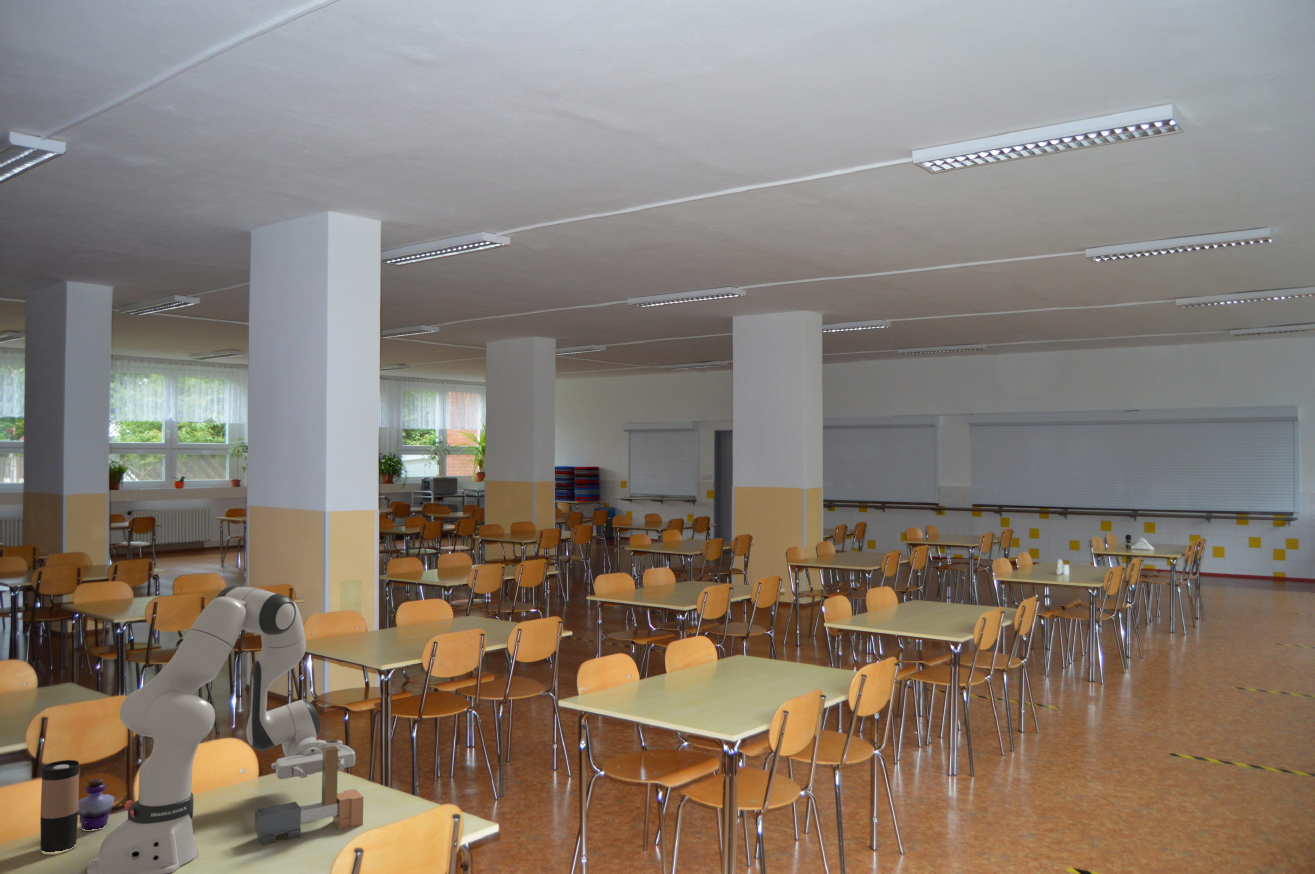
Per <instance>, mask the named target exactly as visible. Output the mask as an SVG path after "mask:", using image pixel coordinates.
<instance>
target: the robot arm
mask: <svg viewBox="0 0 1315 874" xmlns="http://www.w3.org/2000/svg"><path fill="white" fill-rule="evenodd" d="M243 630H244V631H245V632H250V633H256V634H257V633H258V634H260V638H261V639H260V640H261V651H260V653H259V656H258V658H257V659H256V661H255V662H253V663H252V666H251V669H250V677H249V692H248V715H247V721H246V731H245V732H246V733H245V734H246V735H245V736H246V739H247V742H248V744H249V746H250V747H251V748H253V749H255V750H258V751H262V752H265V751H267V750H270V749H272V748H274V747H276V746H279V745H280V744H281V745H282V751H283V754H284V757H280V758H277V759H276V761H275V762H273V763H271V765H270V767H271V768H272V769H273V770H275V775H276V778H277V779H279V780H285V779H289V778H296V777H298V778H300V779H303V778H307V777H308V775H309V776H312V775H315V774H317V773H322V761H323V747H329V746H336V747H337V748H338V772H341V771H345V768H351V767H353V766H355V764H356V751H354V749H352V748H351V747H350V746H348V745H345V744H343V741H342V740H337V739H335V740H323V739H317V738H318V737H319V735H320V732H321V727H322V726H321V720H320V715H319V712H318V711H317V708H316V707H315V705H314V704H313V703H311V702H310V701H308V700H306V699H303V698H301V699H300V700H296V701H293V702H289V703H287V704H285V705H283V706H282V705H281V706H279V707H276V708H273V709H270V710H267V707H268V706H267V705H268V692H269V691H268V690H269V688H270V687H271V685H273V683H274V682H275V681H277V679H279V678H280V677H282V676H283V675H284V674H286V673H288V672H289V671H291V670H292V669H294V668H295V667H296V666H297V665H298V664H299V663H300V662H301V661H302V659H303V657H305V653H306V651H307V649H306V648H307V641H306V633H305V627H304V622H303V619H302V615H301V613H300V610H299V608H298V605H297V603H296V602H294V600H292V599H291V598H290V597H288V596H286V595H284V594H281V593H276V592H271V591H268V590H266V589H263V588H259V587H251V586H243V585H230V586H228V587H225V588H224V589H222V590H220V592H219V593H218V594H217V596H216V597H215V598H214V599H212V600H211V601H210V602H209V603H208V604H207V606H206V607H204V609H203V610H202V611H201V613H200V614H199V615H198V616H197V618H196V619H195V621H194V623H192V625H191V627H190V629H189V630H188V632H187V634H186V635H185V637H184V638H183V640H182V641H181V643H180V644H179V647H178V648H177V649H176V651H175V653H174V654H173V655H172V657H171V659H169V661H168V662H167V664H166V665H165V666H164V667H163V668H162V669H161V670H160V671H159V672H158V673H157V674H156V675H154V677H153V678H152V679H151V680H150V681H148V682H147V683H145V685H143V686H142V687H140V688H138V689H136V690H134V691H132V692H130V694H128V695H127V696H126V697H125V698H124V700H123V702H122V704H121V706H120V709H119V718H120V721H121V723H122V724H123V726H125V727H126V728H128V729H129V730H130V731H131V732H134V733H135V734H137V735H138V736H139V735H140V736H144V737H148V738H149V737H150V738H153V746H152V750H151V753H150V756H149V758H147V759H146V760H145V761H144V762H143V763H142V764H141V765H140V767H139V771H138V795H137V797H138V798H137V800H136V801H135V802H134V801H133V800H131V799H129V800H126V802H125V803H124V805H123V806H124V809H125V811H126V812H127V819H126V820H125V821H124V822H123V823H121V824H120V825H119V826H117V827H116V828H115V829H114V830H112V831H111V832H110V833H109V834H108V835H106V836H105V838H104V839H103V840H102V842H101V845H100V848H99V851H98V856H96V857H93V858H92V859H91V860H90V861H89V862H88V864H87V866H86V871H87V873H86V874H171V873H174V872H175V871H176V870H177V869H178V868H179V867H181V866H184V865H185V864H187V863H189V862H190V861H192V860H193V859H195V858H196V857H197V855H198V853H199V852H198V847H197V846H196V840H195V836H194V829H193V817H194V810H195V807H194V805H195V798H194V794H193V792H192V788H193V787H192V785H193V781H192V780H193V765H194V760H195V756H196V753H197V750H198V748H199V745H200V743H201V742H202V741H203V740H204V739H205V738H206V737H207V736H208V735H209V734H210V733H211V731H212V729H213V728H214V725H215V722H216V711H215V708H214V707H213V705H212V704H211V703H210V702H208V701H206V699H203V698H202V697H200V696H198V695H195V694H196V692H197V691H198V690H199V689H200V688H202V687H203V686H205V685H206V684H208V683H210V682H211V681H213V680H214V679H216V678H217V676H218V675H219V673H220V672H221V670H222V668H223V667H224V665H225V663H226V660H227V659H228V658H229V655H230V654H231V652H232V650H233V648H234V647H235V645H236V643H237V641H238V639H239V636H240V634H241V632H242V631H243ZM93 863H94V864H93Z"/></svg>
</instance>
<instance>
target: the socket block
mask: <svg viewBox="0 0 1315 874" xmlns="http://www.w3.org/2000/svg"><path fill="white" fill-rule="evenodd" d="M337 800H338V801H339V815H337V816H332V817H333V818H332V821H333V823H334V824H335V825H336V826H337V828H339V829H340V830H341V829H346V828H354V827H358V826H362V825H363V826H364V796H363V795H362V794H361V793H360V792H359V791H358V790H357V789H356V788H353V789H349V790H348V789H347V790H344V791H343V792H339V793H338V792H337Z"/></svg>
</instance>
